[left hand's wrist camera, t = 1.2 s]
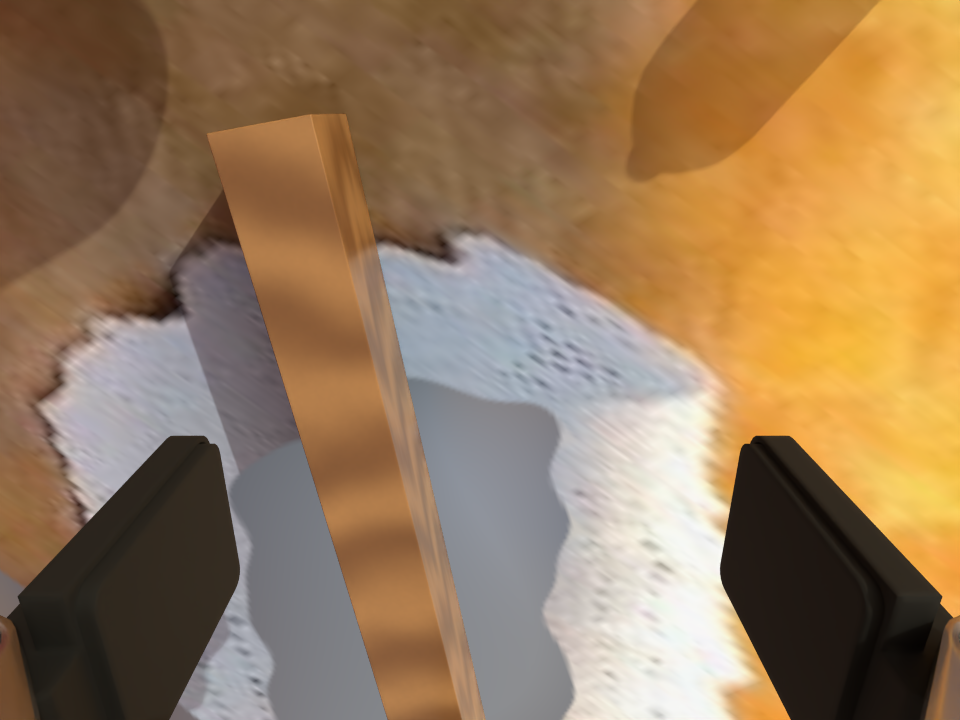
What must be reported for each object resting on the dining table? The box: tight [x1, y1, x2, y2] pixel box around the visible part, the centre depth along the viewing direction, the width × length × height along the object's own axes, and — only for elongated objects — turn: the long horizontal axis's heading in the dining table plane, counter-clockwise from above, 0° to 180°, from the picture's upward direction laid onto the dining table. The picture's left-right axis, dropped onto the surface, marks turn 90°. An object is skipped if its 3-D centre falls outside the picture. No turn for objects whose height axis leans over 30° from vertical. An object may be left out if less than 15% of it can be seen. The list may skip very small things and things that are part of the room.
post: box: [207, 114, 485, 720], centre depth 43 cm, size 63×5×8 cm, turn 10°
